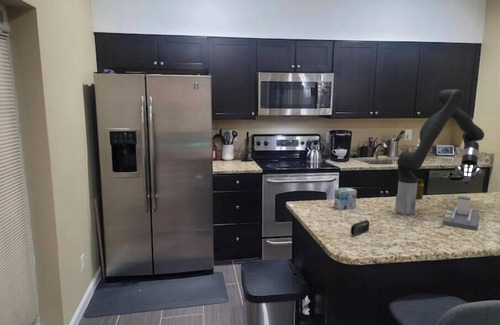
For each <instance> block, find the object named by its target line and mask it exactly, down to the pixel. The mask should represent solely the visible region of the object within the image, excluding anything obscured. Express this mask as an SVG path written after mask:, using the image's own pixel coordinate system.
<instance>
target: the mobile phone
mask: <svg viewBox="0 0 500 325" xmlns="http://www.w3.org/2000/svg"><path fill="white" fill-rule="evenodd" d="M369 229H370V220H367V219H365V220H362V221H359V222H355V223H353V224H352V225H351V227H350V235H351V238H355V237H356V236H358V235H361V234H364V233H366V232H368V231H369Z"/></svg>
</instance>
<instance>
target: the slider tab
mask: <svg viewBox="0 0 500 325" xmlns="http://www.w3.org/2000/svg"><path fill="white" fill-rule="evenodd" d="M470 200H471V196H466V195H458V196H457V204H456V205H457V206H456V207H457V214H462V215H468V213H469V210H470V202H471V201H470Z"/></svg>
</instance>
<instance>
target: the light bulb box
mask: <svg viewBox="0 0 500 325" xmlns="http://www.w3.org/2000/svg"><path fill="white" fill-rule="evenodd" d="M333 200H334V202H333V207H334V208H336V209H338V210H339V211H340V210H354V209H356V207H357V189H354V188H352V187H344V188H341V187H340V188H334V199H333Z"/></svg>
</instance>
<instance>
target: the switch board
mask: <svg viewBox="0 0 500 325" xmlns="http://www.w3.org/2000/svg"><path fill="white" fill-rule="evenodd" d="M479 216H480V211H477V210H473V208H469V213H468V215H462V214H457V206H454V207H448V209H447V210H446V212H445V214H444V218H443V220H442V225H444V226H448V227H454V228H461V229H466V230H473V231H478V224H479Z"/></svg>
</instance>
